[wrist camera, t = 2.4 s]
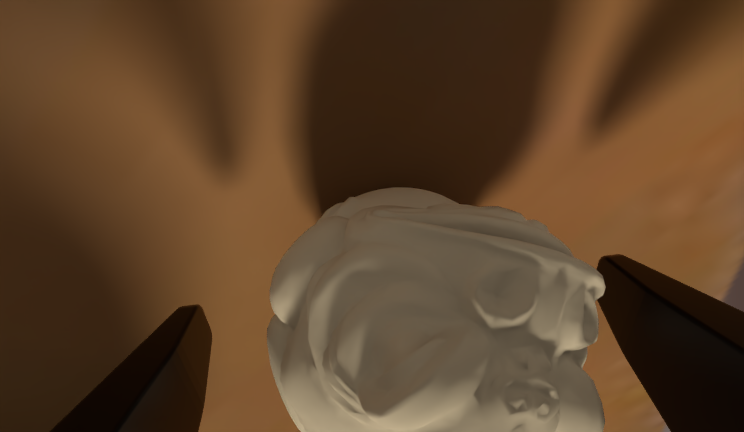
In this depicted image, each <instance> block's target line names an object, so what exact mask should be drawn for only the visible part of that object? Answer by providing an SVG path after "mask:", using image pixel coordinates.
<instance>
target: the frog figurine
mask: <svg viewBox="0 0 744 432" xmlns="http://www.w3.org/2000/svg"><path fill="white" fill-rule="evenodd" d="M605 288H606V286H605V283H604V279H603V276H602V275H601V274H600V273H599V272H598V271H597V270H596V269H595V268H593V267H592V266H590V265H589V264H587V263H585V262H583V261H582V260H579V259H577V258H574V257H573V255H572V253H571V251H570V249H569V248H568V247H567V246H566V245H565V244H564V243H563V242H562V241H560V240H559V239H558V238H556V237H555V236H553V235H552V234H551V233H549V231H548V228H547V226H546V225H544V224H542V223H540V222H539V221H537V220H526V219H525V218H524V217H523V216H522V215H521V214H520V213H518V212H515V211H512V210H509V209H506V208H502V207H499V206H486V207H477V206H473V205H464V204H459V203H457V202H455V201H453V200H451V199H449V198H447V197H445V196H443V195H440V194H437V193H434V192H431V191H427V190H423V189H417V188H405V187H393V188H385V189H379V190H375V191H371V192H367V193H364V194H361V195H359V196H356V197H349V198H348V199H347V200H346V201H345V202H344V203H343V202H342V203H338V204H335V205H334V206H332V207H331V208H329V209H328V210H326V211H325V213H324V214H323V215H322V217H321V218H320V219H319V220H318V221H317V223H316V224H315V225H314V226H312V227H310V228H309V229H308V230H307V231H306V232H304V233H303V234H302V235H301V236H300V237H299V238H298V239H297V240H296V241H295V242H294V244H293V245H292V246H291V247H290V248H289V249H288V251H287V252H286V253H285V254H284V256H283V257H282V259H281V261H280V262H279V264H278V266H277V267H276V269H275V272H274V274H273V278H272V283H271V287H270V302H271V305H272V308H273V311H274V313H275V315H274V316H273V317H272V319H271V321H270V323H269V326H268V328H267V345H268V351H269V358H270V364H271V368H272V372H273V375H274V379H275V381H276V384H277V387H278V390H279V392H280V395H281V398H282V400H283V402H284V404H285V406H286V408H287V410H288V412H289V414H290V416H291V418H292V420H293V421H294V423H295V424H296V426H297V428H298V429H299V430H300V431H301V432H603V428H604V424H605V418H604V412H603V406H602V402H601V399H600V397H599V394H598V392H597V389H596V387H595V384H594V382H593V380H592V379H591V378H590V377H589V376H588V374H587V373H586V372H585V371H584V370H582V368H583V365H584V363H585V361H586V358H587V346H589V345H591V344H593V343H595V342H596V341H597V337H598V325H599V323H598V315H597V310H596V305H595V301H596V300H597V299H598V298H600V297H601V296H602V295H603V294H604V291H605Z"/></svg>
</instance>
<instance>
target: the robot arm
mask: <svg viewBox="0 0 744 432" xmlns="http://www.w3.org/2000/svg"><path fill="white" fill-rule="evenodd" d="M597 271H598V272H599V273H600V274H601V275H602V276H603V279H604V283H605V286H606V288H605V291H604V294H603V295H602V296H601V297H600V298H598V299H597V301H598V303H599V305H600V307H601V309H602V311H603V313H604V315H605V317H606V319H607V322H608V324H609V326H610V328H611V330H612V332H613V334H614V336H615V338H616V340H617V342H618V344H619V346H620V348H621V350H622V352H623V354H624V356H625V357H626V359H627V361H628V362H629V364H630V366H631V367H632V369H633V371H634V372H635V374H636V375H637V377H638V379H639V380H640V382H641V384H642V385H643V387H644V389H645V390H646V392H647V393H648V395H649V397H650V398H651V400H652V402H653V403H654V405H655V406H656V408H657V410H658V411H659V413H660V415H661V416H662V418H663V419H664V421H665V423H666V424H667V426H668V428H669V429H670V431H671V432H744V312H743V311H741V310H739V309H736V308H734V307H732V306H730V305H728V304H726V303H724V302H722V301H719V300H717V299H715V298H713V297H711V296H709V295H707V294H705V293H702V292H700V291H698V290H696V289H694V288H692V287H690V286H688V285H685V284H683V283H681V282H679V281H677V280H675V279H673V278H670V277H668V276H666V275H664V274H662V273H660V272H658V271H656V270H653V269H651V268H649V267H647V266H645V265H643V264H641V263H639V262H636V261H634V260H632V259H630V258H628V257H626V256H624V255H620V254H616V255H607V256H603V257H601V259H600V260H599V263H598V266H597ZM211 344H212V333H211V329H210V326H209V324H208V321H207V319H206V316H205V314H204V311H203V309H202V307H201V306H200V305H188V306H182V307H179V308H178V309H177V310H176V311H175V312H174V313H173V314H172V315H170V316H169V317H168V318H167V319H166V320H165V321H164V322H163V323H162V324H161V325H160V326H159V327H158V328H157V329H156V330H155V331H154V332H153V333H152V334H151V335H150V336H149V337H148V338H147V339H146V340H144V341H143V342H142V343H141V344H140V345H139V346H138V347H137V348H136V349H135V350H134V351H133V352H132V353H131V354H130V355H129V356H128V357H127V358H126V359H125V360H124V361H123V362H122V363H121V364H120V365H118V366H117V367H116V368H115V369H114V370H113V371H112V372H111V373H110V374H109V375H108V376H107V377H106V378H105V379H104V380H103V381H102V382H101V383H100V384H99V385H98V386H97V387H96V388H95V389H94V390H92V391H91V392H90V393H89V394H88V395H87V396H86V397H85V398H84V399H83V400H82V401H81V402H80V403H79V404H78V405H77V406H76V407H75V408H74V409H73V410H72V411H71V412H70V413H69V414H68V415H66V416H65V417H64V418H63V419H62V420H61V421H60V422H59V423H58V424H57V425H56V426H55V427H54V428H53V429H52V430H51V431H50V432H198V430H199V426H200V422H201V418H202V413H203V408H204V402H205V395H206V386H207V378H208V369H209V361H210V353H211Z"/></svg>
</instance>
